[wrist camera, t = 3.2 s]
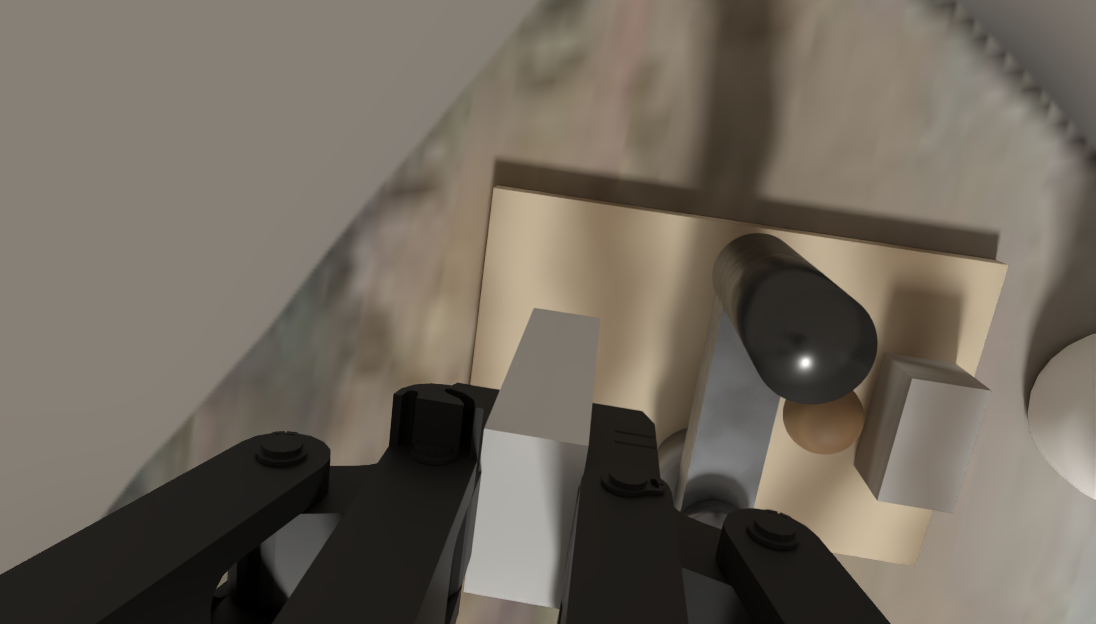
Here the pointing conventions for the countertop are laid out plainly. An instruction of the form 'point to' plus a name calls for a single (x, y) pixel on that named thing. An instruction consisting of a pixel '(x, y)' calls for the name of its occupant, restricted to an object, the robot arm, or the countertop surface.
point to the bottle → (1068, 414)
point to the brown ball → (825, 424)
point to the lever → (764, 367)
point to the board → (789, 470)
